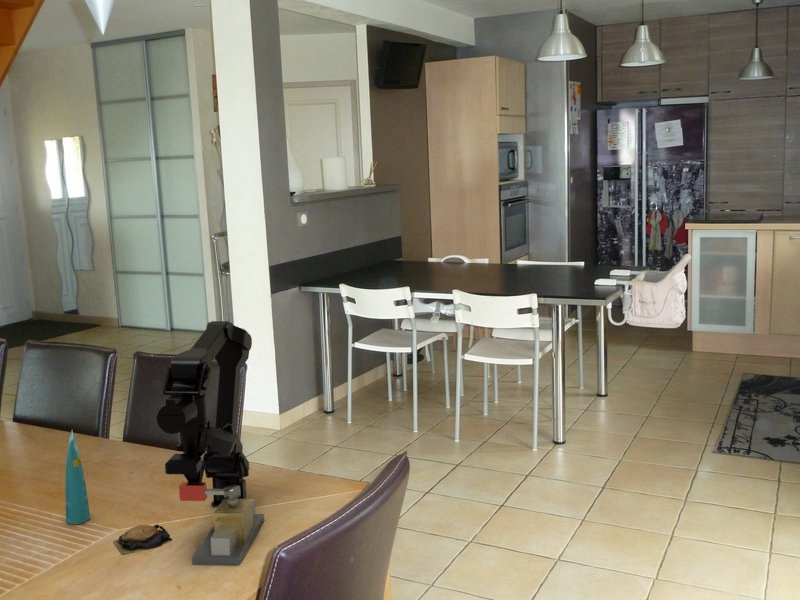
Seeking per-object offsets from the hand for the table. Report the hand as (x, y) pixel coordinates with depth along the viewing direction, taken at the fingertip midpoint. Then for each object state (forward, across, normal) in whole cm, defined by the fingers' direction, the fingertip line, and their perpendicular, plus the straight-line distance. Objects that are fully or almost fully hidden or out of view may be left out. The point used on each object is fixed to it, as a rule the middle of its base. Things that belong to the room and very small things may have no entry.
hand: (197, 491), depth 167 cm
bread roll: (+10, -3, +11) cm, 15 cm away
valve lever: (+1, -2, -4) cm, 4 cm away
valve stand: (+10, -3, -8) cm, 13 cm away
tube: (+10, +7, +29) cm, 31 cm away
